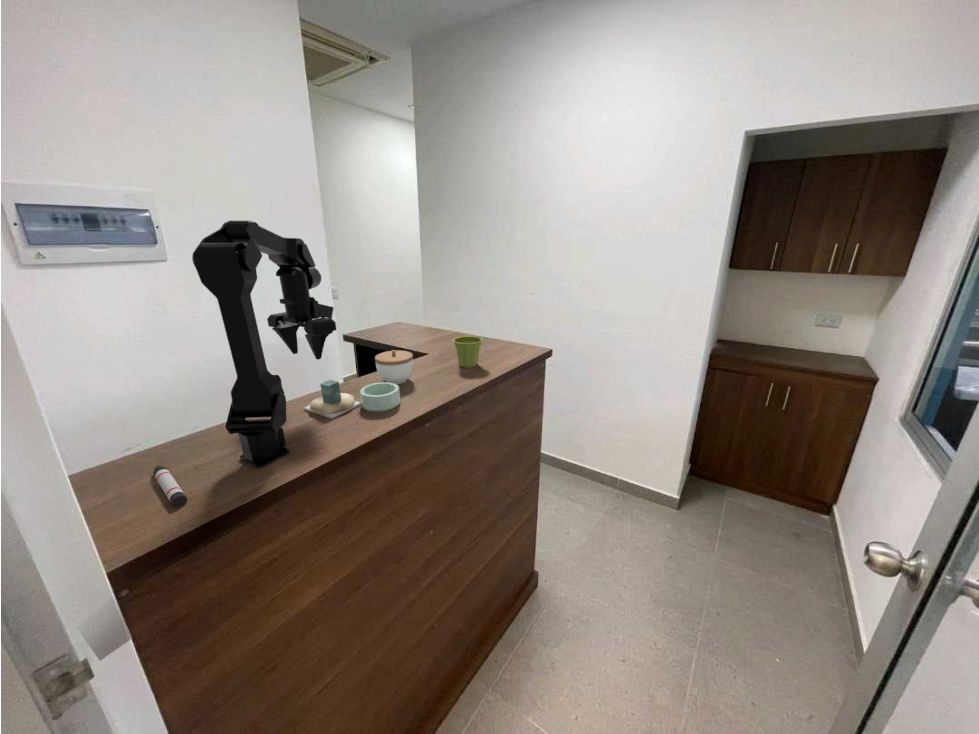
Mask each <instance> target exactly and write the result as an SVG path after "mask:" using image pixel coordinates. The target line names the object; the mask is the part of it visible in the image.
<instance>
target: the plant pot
mask: <svg viewBox="0 0 979 734" xmlns="http://www.w3.org/2000/svg"><path fill="white" fill-rule="evenodd" d="M452 342H453V343H454V347H455V349H456V350H455V351H456V355H457V359H458V365H459V367H465V369H466V368H475V366H478V364H479V355H480V350H481V349H480V347H481V344H482V342H483V339H482V338H481V337H479V336H473V335H472V336H471V335H465V336H459V337H455V338H453V339H452Z"/></svg>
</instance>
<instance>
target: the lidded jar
mask: <svg viewBox="0 0 979 734" xmlns="http://www.w3.org/2000/svg"><path fill="white" fill-rule="evenodd" d="M374 361H375V367H376V371H377V374H378V376H379V377H380V378H381V379H382V381H385V382H390V383H394V384H397V385H401V384H403V383H405V382H407V380H408V379H409V378H410V377H411V375H412V372H413V367H414V355H413V353H412V352H410V351H407V350H395V349H392V350H388V351H387V350H386V351H383V352H381V353H378V354H376V355H375V356H374Z"/></svg>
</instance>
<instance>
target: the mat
mask: <svg viewBox="0 0 979 734" xmlns="http://www.w3.org/2000/svg"><path fill="white" fill-rule="evenodd" d="M360 406H362V403H361V401H356V400H355V404H354V405H353V406H352V407H351V408H349V409H347V410H345V411H342V412H338V413H334V414H318V415H319V416H322V417H325V418H328V419H331V420H332V419H334V418H336V417H338V416H340V415H342V414H345V413H347V412H349V411H351V410H354V409H355V408H357V407H360ZM303 409H304V410H305V411H308V412H310V413H313V412H312V411H311V410H310V404H309V405H307V406H305V407H304V408H303Z"/></svg>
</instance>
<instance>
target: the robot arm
mask: <svg viewBox="0 0 979 734" xmlns="http://www.w3.org/2000/svg"><path fill="white" fill-rule="evenodd" d="M199 242H200V243H198V245H197V246H196V248H195V250H194V251H193V252H192V255H191V256H192V257H191V258H192V264H193V266H194V268H195V270H196V272H197V276H198V277H199V280H200V283H201V284H202V285H203V286H204V287H205V288H206V289H207V290H208V291H209V292H210V293H211V294H212V295H213V296H214V297H215V298H216V300H217V304H218V306H219V310H220V314H221V319H222V322H223V327H224V331H225V334H226V338H227V342H228V345H229V346H228V347H229V351H230V354H231V359H232V361H233V364H234V369H235V372H236V379H235V382H234V384H233V386H232V388H231V390H230V396H231V404H230V406H229V409H228V410H229V411H228V414H227V418H226V422H225V427H224V428H225V429H226V431H227V432H228V434H229V435H234V434H237V435H238V440H239V443H240V447H241V449H242V450H241V451H242V455H240V456H239V459H240V460H241V461H243V462H246V463H248V464H249V465H251V466H254V467H255V468H262V467H263V466H265V465H267V464H269V463H271V462H273V461H276V460H277V459H279V458H281V457H283V456H286V454H288V453H290V452H291V450H290V449H289V448H287V442H286V438H285V437H286V435H285V433H284V428H282V427H283V426H284V425H285V424H286V423H287V397H286V395H285V390H284V388H283V384H282V383H283V382H282V378H281V377H280V376H279V374H272V373H271V372H270V371H269V370H268V368H267V364H266V358H265V355H264V350H263V346H262V345H263V344H262V341H261V337H260V332H259V327H258V323H257V319H256V315H255V309H254V306H253V305H254V304H253V302H252V296H251V294H252V291H253V289H254V287H255V285H256V282H257V280H258V273H257V267H258V265H259V264H260V261H261V260H262V257H263V254H265V255H267V256H268V260H269V261H271V262H272V263H273V264H275V265H277V267H278V268H279V269H277V270H276V272H275V275H276V277H279V282H280V287H281V293H282V297H283V298H279V304H281V305H282V304H283V305H284V309H285V311H284V312H283V311H282V312H279V313H273V314H270V315H269V316H268V317H267V318H266V319H267V326H268V327H271V328H272V331H274V332H275V333H276V334H277V336H278V337H279V338H280V339H281V340H282V341H283V343H284V344H285V345H286V347H287V348H288V349H289V350H290V352H291V353H292V354H293V355H296V354H298V353H299V350H298V349H299V347H298V345H299V344H298V335H297V332H298V330H299V328H300V327H302V328H303V329H304V331H305V333H306V334H304V336H305V338H306V341H307V342H308V345H309V348H310V350H311V351H312V353H313V356H314V357H315V360H318V361H319V360H321V359H322V356H323V351H324V347H325V341H326V339H327V338H328V336H329V335H331V334H333V332H335V331H337V324H336V323H337V322H336V321H335V320H334V319H333V313H334V307H333V306H331V305H325V304H321V303H319V301H318V300H316V297H315V298H314V296H311V295H310V290H312V289H314V288H317V287H318V286H319V285H320V284H321V282H322V275H321V273H320V271H319V270H318V269H317V268H316V263H315V261H314V259H313V256H312V254H311V252H310V249H309V247H308V244H306V243H305V242H304V240H303V239H302V238H298V237H283V236H281V235H279V234H277V233H275V232H273V231H271V230H269V229H267V228H264V227H262V226H260V225H259V224H258V223H257V222H256V221H252V220H227V221H225V222H224V223H223V224H222V225H221V227H220V228H219V229H217V230H216V231H214V232H212V233H210V234H209V235H207V236H205V237H203V239H201V241H199ZM251 418H252V419H251ZM253 418H255V419H253ZM256 418H258V419H256ZM261 418H262V419H261Z"/></svg>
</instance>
